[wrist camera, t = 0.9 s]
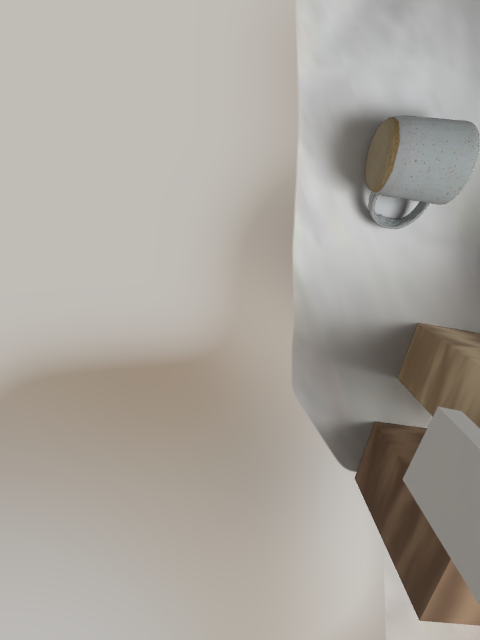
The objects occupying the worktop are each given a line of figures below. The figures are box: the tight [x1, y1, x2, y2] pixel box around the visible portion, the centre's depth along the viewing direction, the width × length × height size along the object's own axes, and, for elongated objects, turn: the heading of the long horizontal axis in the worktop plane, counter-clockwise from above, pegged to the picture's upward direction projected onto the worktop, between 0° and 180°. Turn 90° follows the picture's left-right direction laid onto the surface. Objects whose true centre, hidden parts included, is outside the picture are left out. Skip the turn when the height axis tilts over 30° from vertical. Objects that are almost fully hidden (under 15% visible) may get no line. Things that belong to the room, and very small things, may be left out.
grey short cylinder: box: [365, 116, 479, 229], centre depth 37 cm, size 11×8×8 cm
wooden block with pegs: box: [355, 422, 480, 625], centre depth 43 cm, size 16×11×22 cm, turn 79°
